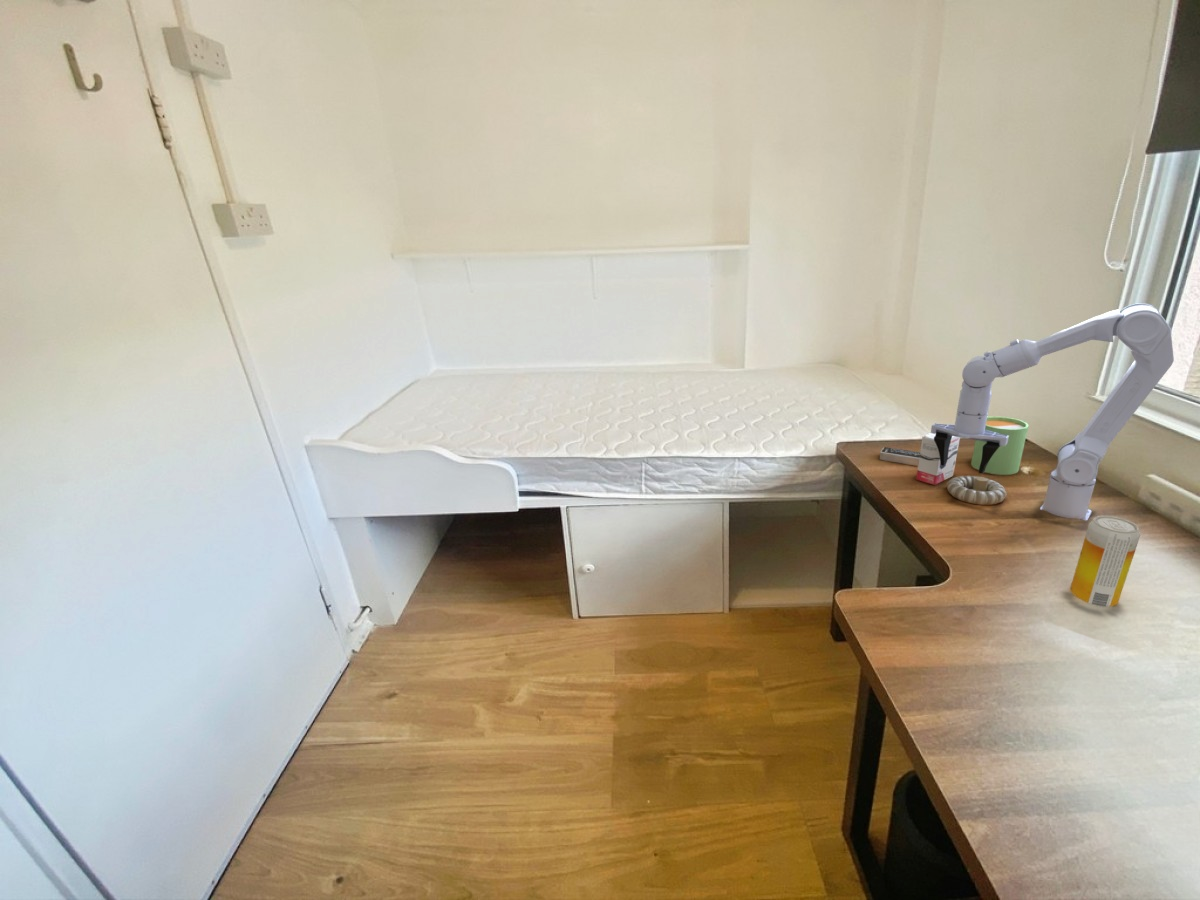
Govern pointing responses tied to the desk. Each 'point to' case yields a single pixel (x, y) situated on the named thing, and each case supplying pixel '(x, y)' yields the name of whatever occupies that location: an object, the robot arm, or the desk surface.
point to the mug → (1005, 456)
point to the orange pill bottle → (1105, 560)
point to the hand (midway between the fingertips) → (962, 467)
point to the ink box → (935, 460)
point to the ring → (963, 492)
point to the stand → (980, 484)
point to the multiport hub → (900, 456)
